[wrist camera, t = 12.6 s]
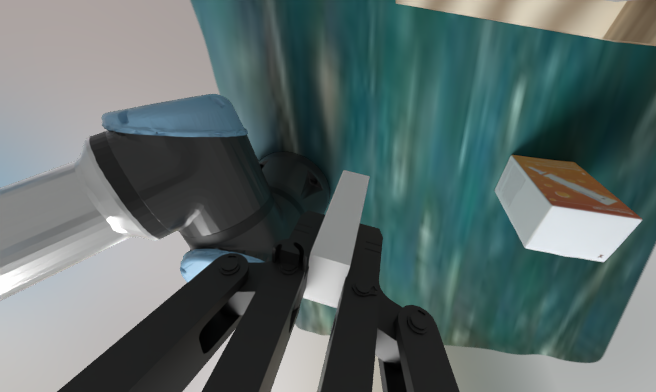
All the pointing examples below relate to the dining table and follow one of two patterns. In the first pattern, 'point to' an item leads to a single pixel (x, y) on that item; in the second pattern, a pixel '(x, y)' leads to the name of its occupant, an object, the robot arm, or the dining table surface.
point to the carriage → (618, 0)
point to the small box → (563, 209)
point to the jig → (562, 16)
